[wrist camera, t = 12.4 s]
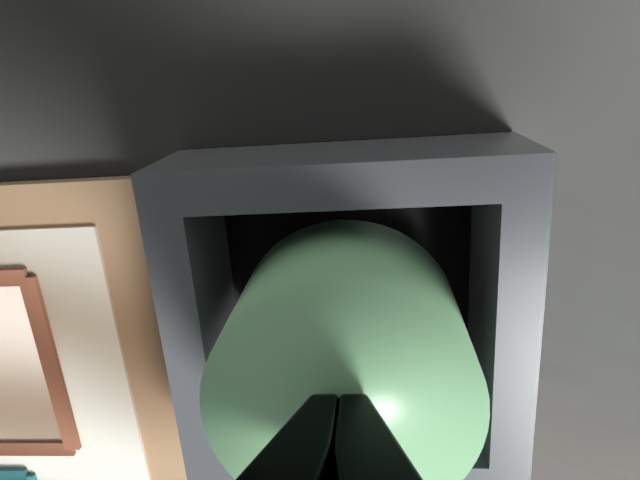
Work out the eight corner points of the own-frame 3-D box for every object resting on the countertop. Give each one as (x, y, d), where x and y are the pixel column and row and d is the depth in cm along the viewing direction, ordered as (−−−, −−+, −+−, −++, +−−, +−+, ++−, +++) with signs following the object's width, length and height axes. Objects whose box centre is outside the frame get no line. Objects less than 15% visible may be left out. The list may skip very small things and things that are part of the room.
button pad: (498, 419, 13) (528, 500, 10) (220, 420, 13) (189, 496, 11) (514, 131, 11) (556, 152, 8) (179, 150, 11) (130, 174, 9)
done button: (454, 410, 11) (484, 528, 8) (254, 411, 12) (219, 524, 9) (458, 215, 10) (496, 278, 7) (230, 224, 10) (179, 287, 7)
